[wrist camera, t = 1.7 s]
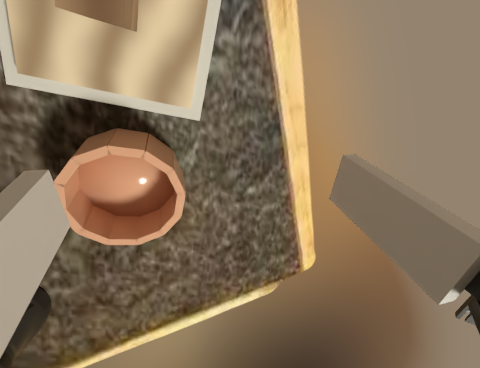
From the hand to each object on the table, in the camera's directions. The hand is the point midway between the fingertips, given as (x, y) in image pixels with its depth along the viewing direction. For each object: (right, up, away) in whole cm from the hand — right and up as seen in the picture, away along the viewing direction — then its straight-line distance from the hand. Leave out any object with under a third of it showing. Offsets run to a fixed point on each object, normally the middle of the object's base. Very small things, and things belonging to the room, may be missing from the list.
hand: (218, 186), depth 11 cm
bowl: (-14, +1, +22) cm, 26 cm away
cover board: (-11, +18, +12) cm, 24 cm away
